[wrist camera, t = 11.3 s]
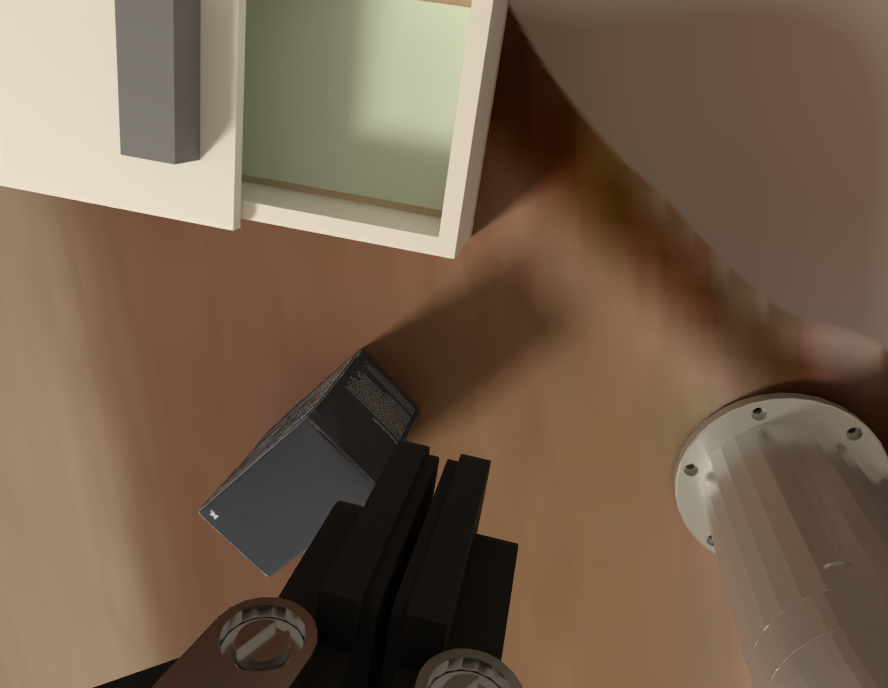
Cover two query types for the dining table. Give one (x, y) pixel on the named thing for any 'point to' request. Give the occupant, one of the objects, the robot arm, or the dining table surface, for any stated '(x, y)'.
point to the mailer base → (369, 117)
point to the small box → (312, 464)
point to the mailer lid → (126, 104)
